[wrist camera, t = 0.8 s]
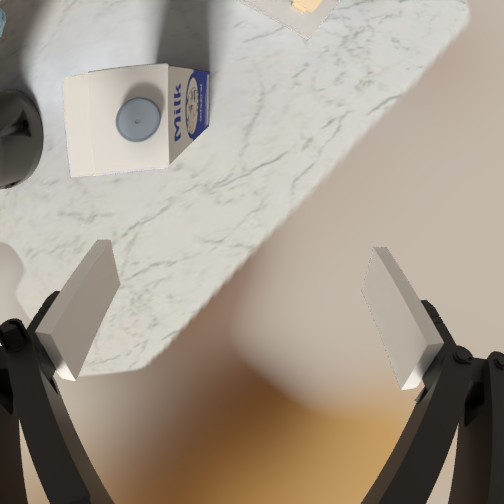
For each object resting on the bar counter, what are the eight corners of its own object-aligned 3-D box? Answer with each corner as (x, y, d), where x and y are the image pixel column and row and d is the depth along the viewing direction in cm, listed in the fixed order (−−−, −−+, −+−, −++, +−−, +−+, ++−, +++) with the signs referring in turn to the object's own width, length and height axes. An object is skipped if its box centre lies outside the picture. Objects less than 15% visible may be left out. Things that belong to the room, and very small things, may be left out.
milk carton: (154, 73, 32) (60, 77, 15) (209, 70, 32) (158, 61, 15) (154, 128, 36) (69, 180, 18) (208, 127, 36) (161, 177, 18)
